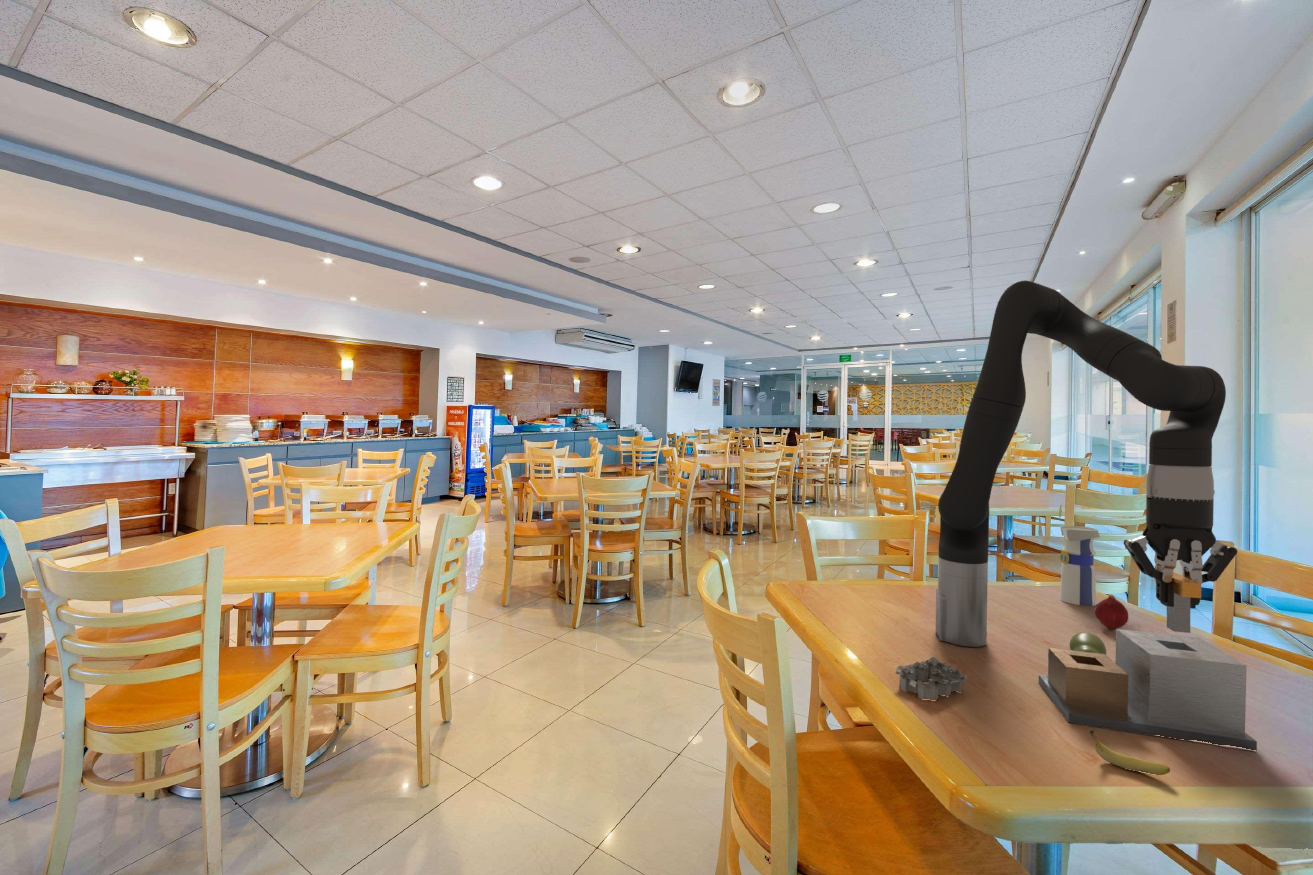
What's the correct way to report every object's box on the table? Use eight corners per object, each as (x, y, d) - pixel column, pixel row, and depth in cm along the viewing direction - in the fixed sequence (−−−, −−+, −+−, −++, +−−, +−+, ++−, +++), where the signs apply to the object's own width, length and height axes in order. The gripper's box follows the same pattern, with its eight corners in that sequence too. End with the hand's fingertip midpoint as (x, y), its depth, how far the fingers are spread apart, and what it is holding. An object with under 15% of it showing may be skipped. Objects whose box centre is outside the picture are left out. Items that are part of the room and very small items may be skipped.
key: (1201, 638, 81) (1201, 583, 81) (1182, 636, 81) (1182, 581, 81) (1174, 623, 87) (1174, 572, 87) (1157, 621, 88) (1157, 571, 88)
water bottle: (1069, 605, 139) (1071, 508, 139) (1051, 595, 148) (1053, 503, 147) (1105, 607, 138) (1107, 509, 138) (1085, 597, 147) (1087, 504, 146)
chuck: (1068, 722, 83) (1070, 648, 83) (1038, 682, 97) (1039, 618, 96) (1256, 751, 76) (1258, 670, 76) (1196, 704, 89) (1197, 634, 89)
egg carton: (927, 706, 89) (928, 681, 89) (890, 686, 96) (891, 662, 96) (971, 693, 93) (972, 669, 93) (933, 675, 100) (934, 652, 100)
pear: (1106, 631, 106) (1108, 656, 99) (1105, 656, 107) (1106, 683, 100) (1070, 624, 110) (1069, 648, 102) (1069, 649, 111) (1068, 674, 103)
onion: (1135, 635, 120) (1136, 598, 119) (1108, 634, 120) (1109, 598, 120) (1113, 625, 125) (1114, 590, 125) (1088, 625, 126) (1088, 590, 125)
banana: (1087, 760, 74) (1088, 731, 74) (1088, 754, 75) (1088, 726, 75) (1170, 786, 69) (1170, 754, 69) (1169, 779, 70) (1169, 748, 70)
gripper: (1220, 493, 86) (1218, 603, 86) (1113, 490, 90) (1111, 594, 90) (1254, 499, 78) (1252, 619, 79) (1136, 495, 83) (1134, 608, 83)
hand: (1177, 605), depth 84 cm, fingers closed on key, 2 cm apart
